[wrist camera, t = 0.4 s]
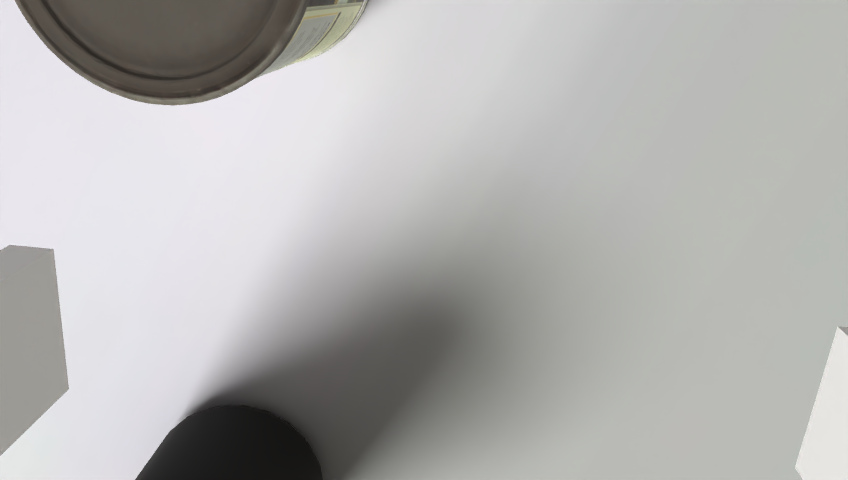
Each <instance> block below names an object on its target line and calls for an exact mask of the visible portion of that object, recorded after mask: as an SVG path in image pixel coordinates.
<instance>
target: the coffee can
mask: <svg viewBox="0 0 848 480" xmlns="http://www.w3.org/2000/svg"><path fill="white" fill-rule="evenodd" d="M367 1H368V0H15V2H16V4H17V5H18V7H19V9H20V11H21V12H22V14H23V16H24V17H25V19H26V20H27V22H28V23H29V25H30V26H31V27H32V29H33V30H34V31H35V33H36V34H37V35H38V36H39V38H40V39H41V40H42V41H43V42H44V44H45V45H46V46H47V47H48V48H49V49H50V50H51V51H52V52H53V53H54V54H55V55H56V56H57V57H58V58H59V59H60V60H61V61H63V62H64V63H65V64H66V65H67V66H69V67H70V68H71V69H72V70H74V71H75V72H76V73H78V74H79V75H81V76H82V77H84V78H85V79H87V80H88V81H90V82H92V83H93V84H95V85H97V86H99V87H101V88H103V89H105V90H107V91H109V92H111V93H114V94H117V95H120V96H122V97H125V98H128V99H131V100H135V101H139V102H144V103H150V104H161V105H183V104H193V103H199V102H204V101H208V100H211V99H215V98H218V97H221V96H223V95H225V94H228V93H230V92H232V91H234V90H236V89H238V88H240V87H241V86H243V85H245V84H247V83H248V82H250V81H251V80H253V79H255V78H257V77H260V76H262V75H265V74H267V73H270V72H272V71H275V70H278V69H281V68H283V67H285V66H288V65H291V64H293V63H296V62H301V61H304V60H308V59H311V58H314V57H316V56H318V55H320V54H322V53H324V52H326V51H328V50H329V49H330V48H332V47H333V46H335V45H336V44H337V43H338V42H340V41H341V40H342V39H344V38H345V36H346V35H347V34H348V33H349V31H350V30H351V29H352V28H353V27H354V26H355V24H356V23H357V21H358V19H359V18H360V16H361V14H362V13H363V11H364V8H365V6H366V4H367Z"/></svg>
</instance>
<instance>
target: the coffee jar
mask: <svg viewBox="0 0 848 480" xmlns="http://www.w3.org/2000/svg"><path fill="white" fill-rule="evenodd" d="M135 480H322V474H321V468H320V464H319V462H318V460H317V459H316V457H315V455H314V453H313V451H312V449H311V447H310V446H309V444H308V442H307V441H306V440H305V438H304V437H303V436H302V435H301V434H300V433H299V432H298V431H297V430H295V429H294V428H293V427H292V426H291V425H290V424H289V423H288V422H286V421H284V420H283V419H281V418H279V417H277V416H275V415H274V414H272V413H270V412H268V411H264V410H260V409H256V408H252V407H248V406H224V407H214V408H211V409H208V410H205V411H202V412H199V413H196V414H193V415H191V416H188V417H187V418H186V419H184V420H183V421H182V422H181V423H180V424H178V425H177V426H176V427H175V428H173V429H172V430H171V431H170V432H169V433H168V435H167V436H166V437H165V439H164V440H163V442H162V443H161V444H160V446H159V447H158V449H157V450H156V451H155V453H154V454H153V456H152V457H151V458H150V460H149V461H148V463H147V464H146V465H145V467H144V468H143V470H142V471H141V472H140V474H139V475H138V477H137V478H136V479H135Z"/></svg>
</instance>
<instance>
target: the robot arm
mask: <svg viewBox="0 0 848 480" xmlns="http://www.w3.org/2000/svg"><path fill="white" fill-rule="evenodd" d="M68 389H69V387H68V378H67V369H66V359H65V350H64V341H63V332H62V323H61V314H60V305H59V296H58V286H57V277H56V268H55V259H54V250H53V249H46V248H36V247H26V246H16V245H9V246H7V247H5V248H4V249H2V250H0V455H2V454H3V453H4V452H5V451H6V450H7V449H8V448H9V447H10V446H11V445H12V444H13V443H14V442H15V441H16V440H17V439H18V438H19V437H20V436H21V435H22V434H23V433H24V432H25V431H26V430H27V429H28V428H29V427H30V426H31V425H32V424H33V423H34V422H35V421H36V420H38V419H39V418H40V417H41V416H42V415H43V414H44V413H45V412H46V411H47V410H48V409H49V408H50V407H51V406H52V405H53V404H54V403H55V402H56V401H57V400H58V399H59V398H60V397H61V396H62V395H63V394H64V393H65V392H66V391H67V390H68ZM795 468H796V470H797V471H798V473H799V474H800V476H801V477H802V479H803V480H848V328H847V327H837V331H836V334H835V337H834V341H833V344H832V347H831V351H830V354H829V357H828V361H827V364H826V367H825V370H824V374H823V377H822V380H821V384H820V387H819V390H818V394H817V397H816V400H815V404H814V407H813V410H812V413H811V417H810V420H809V423H808V427H807V430H806V433H805V437H804V440H803V443H802V446H801V450H800V453H799V456H798V460H797V463H796V466H795Z"/></svg>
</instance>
